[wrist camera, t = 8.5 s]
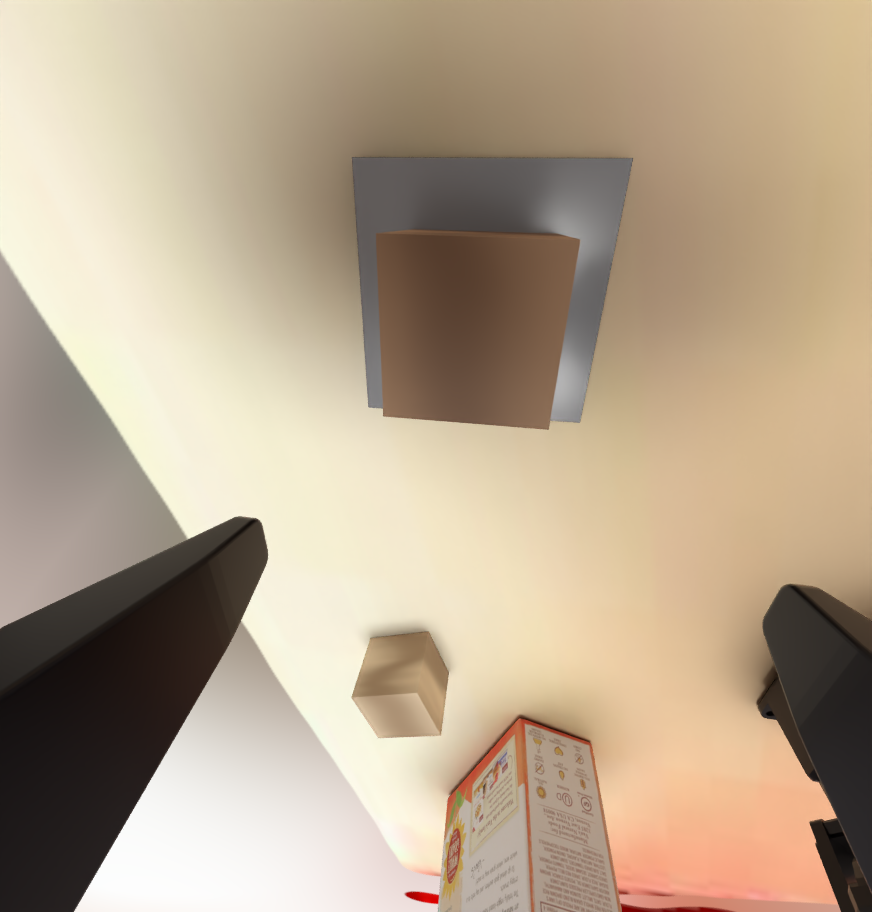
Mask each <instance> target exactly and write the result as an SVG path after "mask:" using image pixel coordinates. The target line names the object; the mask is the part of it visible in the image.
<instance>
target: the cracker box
mask: <svg viewBox="0 0 872 912" xmlns="http://www.w3.org/2000/svg"><path fill="white" fill-rule="evenodd" d="M438 912H622V910H621V905H620V899H619V894H618V888H617V883H616V877H615V872H614V866H613V860H612V855H611V849H610V844H609V838H608V833H607V827H606V821H605V816H604V810H603V804H602V799H601V795H600V789H599V783H598V777H597V772H596V767H595V759H594V755H593V749H592V745H591V743H590V742H587V741H584V740H581V739H578V738H575V737H572V736H569V735H567V734H564V733H561V732H558V731H555V730H553V729H550V728H547V727H544V726H541V725H539V724H536V723H533V722H530V721H527V720H524V719H521V718H519V719H518V720H517V721H516V722H515V723H514V724H513V725H512V727H511V728H510V729H509V730H508V731H507V732H506V733H505V735H504V736H503V737H502V738H501V739H500V740H499V741H498V743H497V744H496V745H495V746H494V747H493V748H492V749H491V750H490V751H489V753H488V754H487V755H486V756H485V757H484V759H483V760H482V761H481V762H480V763H479V764H478V765H477V766H476V767H475V769H474V770H473V771H472V772H471V773H470V774H469V775H468V777H467V778H466V779H465V780H464V781H463V782H462V783H461V784H460V786H459V787H458V788H457V789H456V790H455V791H454V792H453V793H452V794H451V796H449V798H448V803H447V813H446V824H445V836H444V847H443V858H442V869H441V880H440V892H439V904H438Z"/></svg>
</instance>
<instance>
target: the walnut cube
mask: <svg viewBox="0 0 872 912" xmlns="http://www.w3.org/2000/svg"><path fill="white" fill-rule="evenodd" d="M580 241H581V240H580V239H576V238H572V237H569V236H565V235H561V234H555V233H522V232H488V231H455V230H421V229H411V230H402V231H393V232H384V233H376V252H377V276H378V301H379V325H380V349H381V374H382V398H383V416H386V417H398V418H411V419H423V420H435V421H448V422H460V423H473V424H485V425H498V426H510V427H522V428H535V429H547V430H549V424H550V418H551V412H552V406H553V400H554V394H555V388H556V383H557V377H558V371H559V365H560V359H561V353H562V347H563V341H564V335H565V329H566V324H567V318H568V312H569V306H570V300H571V294H572V288H573V282H574V276H575V270H576V265H577V259H578V253H579V247H580Z"/></svg>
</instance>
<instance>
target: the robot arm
mask: <svg viewBox="0 0 872 912" xmlns="http://www.w3.org/2000/svg"><path fill="white" fill-rule="evenodd" d="M267 560H268V549H267V545H266V540H265V535H264V531H263V526H262V523H261V522H260V520H258V519H256V518H250V517H242V516H239V517H235V518H232V519H230V520H228V521H226V522H224V523H222V524H220V525H218V526H215V527H213V528H211V529H209V530H207V531H205V532H203V533H201V534H198V535H196V536H194V537H192V538H190V539H188V540H186V541H184V542H182V543H179V544H177V545H175V546H173V547H171V548H169V549H167V550H165V551H163V552H160V553H159V554H156V555H154V556H152V557H150V558H148V559H146V560H143V561H141V562H139V563H137V564H135V565H133V566H131V567H129V568H127V569H124V570H122V571H120V572H118V573H116V574H114V575H112V576H110V577H108V578H105V579H103V580H101V581H99V582H97V583H95V584H93V585H91V586H89V587H87V588H84V589H82V590H80V591H78V592H76V593H74V594H72V595H69V596H67V597H65V598H63V599H61V600H59V601H57V602H55V603H52V604H50V605H48V606H46V607H44V608H42V609H40V610H38V611H36V612H34V613H31V614H29V615H27V616H25V617H23V618H21V619H19V620H17V621H14V622H12V623H10V624H8V625H6V626H4V627H2V628H1V629H0V912H74V911H75V909H76V907H77V906H78V904H79V902H80V900H81V899H82V897H83V895H84V893H85V892H86V890H87V888H88V886H89V885H90V883H91V881H92V880H93V878H94V876H95V875H96V873H97V871H98V869H99V868H100V866H101V864H102V862H103V861H104V859H105V857H106V856H107V854H108V852H109V850H110V849H111V847H112V845H113V844H114V842H115V840H116V838H117V837H118V835H119V833H120V831H121V830H122V828H123V826H124V825H125V823H126V821H127V820H128V818H129V816H130V814H131V813H132V811H133V809H134V807H135V806H136V804H137V802H138V800H139V799H140V797H141V795H142V794H143V792H144V790H145V789H146V787H147V785H148V783H149V782H150V780H151V778H152V777H153V775H154V773H155V771H156V770H157V768H158V766H159V765H160V763H161V761H162V759H163V757H164V756H165V754H166V752H167V751H168V749H169V747H170V746H171V744H172V742H173V740H174V739H175V737H176V735H177V734H178V732H179V730H180V728H181V727H182V725H183V723H184V722H185V720H186V718H187V716H188V715H189V713H190V711H191V710H192V708H193V706H194V704H195V703H196V701H197V699H198V697H199V696H200V694H201V692H202V690H203V689H204V687H205V685H206V683H207V682H208V680H209V679H210V677H211V675H212V673H213V672H214V670H215V668H216V667H217V665H218V663H219V661H220V660H221V658H222V656H223V654H224V653H225V651H226V649H227V647H228V646H229V644H230V642H231V640H232V638H233V636H234V634H235V632H236V630H237V628H238V626H239V624H240V622H241V619H242V617H243V615H244V613H245V611H246V608H247V606H248V604H249V602H250V600H251V597H252V595H253V593H254V591H255V589H256V586H257V584H258V582H259V580H260V578H261V575H262V573H263V571H264V569H265V566H266V564H267ZM763 633H764V636H765V639H766V642H767V645H768V648H769V651H770V654H771V656H772V659H773V662H774V665H775V668H776V671H777V674H778V676H777V678H776V679H775V681H774V682H773V684H772V685H771V687H770V688H769V690H768V691H767V693H766V694H765V696H764V697H763V699H762V700H761V702H760V703H759V705H758V709H759V711H760V713H761V715H762V716H763V717H764V718H767V719H774V720H777V721H778V723H779V725H780V726H781V728H782V730H783V732H784V734H785V736H786V738H787V739H788V741H789V743H790V745H791V747H792V749H793V750H794V752H795V754H796V756H797V758H798V760H799V761H800V763H801V765H802V767H803V769H804V771H805V773H806V774H807V776H808V777H809V778H810V779H811V780H812V781H815V782H819V783H820V785H821V787H822V789H823V791H824V792H825V794H826V796H827V798H828V800H829V801H830V803H831V806H832V808H833V810H834V812H835V814H836V817H837V818H836V819H831V820H827V821H824V820H822V819H819V820H814V821H810V822H809V823H810V826H811V828H812V831H813V834H814V836H815V839H816V842H817V843H815V844H816V847H817V850H818V853H819V855H820V858H821V860H822V863H823V866H824V868H825V871H826V873H827V876H828V879H829V881H830V884H831V886H832V889H833V892H834V894H835V897H836V899H837V902H838V904H839V907H840V910H841V912H872V621H871V620H869V619H868V618H866V617H865V616H863V615H861V614H860V613H858V612H856V611H855V610H853V609H852V608H850V607H848V606H847V605H845V604H844V603H842V602H840V601H839V600H837V599H836V598H834V597H832V596H831V595H829V594H828V593H826V592H824V591H823V590H821V589H819V588H817V587H813V586H806V585H798V584H786V585H784V586H783V587H781V589H780V590H779V592H778V594H777V595H776V597H775V599H774V600H773V602H772V604H771V606H770V607H769V609H768V611H767V613H766V614H765V616H764V619H763Z"/></svg>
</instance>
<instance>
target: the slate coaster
mask: <svg viewBox="0 0 872 912" xmlns="http://www.w3.org/2000/svg"><path fill="white" fill-rule="evenodd" d="M632 161H633V158H399V157H352V164H353V179H354V195H355V210H356V225H357V240H358V256H359V271H360V286H361V302H362V317H363V332H364V347H365V363H366V378H367V393H368V407H370V408H383V398H382V374H381V349H380V325H379V301H378V276H377V252H376V233H384V232H393V231H402V230H411V229H421V230H455V231H488V232H522V233H555V234H561V235H565V236H569V237H572V238H576V239H580V240H581V241H580V247H579V253H578V259H577V265H576V270H575V276H574V282H573V288H572V294H571V300H570V306H569V312H568V318H567V324H566V329H565V335H564V341H563V347H562V353H561V359H560V365H559V371H558V377H557V383H556V388H555V394H554V400H553V406H552V412H551V418H550V421H563V422H577V423H580V420H581V415H582V410H583V405H584V400H585V395H586V390H587V385H588V380H589V375H590V370H591V365H592V360H593V355H594V350H595V345H596V340H597V335H598V330H599V325H600V320H601V315H602V310H603V305H604V300H605V295H606V290H607V285H608V280H609V275H610V270H611V265H612V260H613V255H614V251H615V246H616V241H617V236H618V231H619V226H620V221H621V216H622V211H623V206H624V201H625V196H626V191H627V186H628V181H629V176H630V171H631V166H632Z"/></svg>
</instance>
